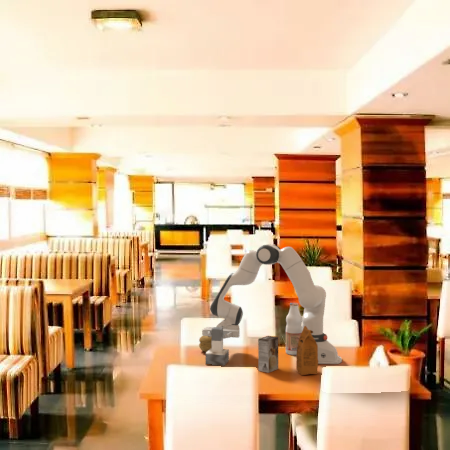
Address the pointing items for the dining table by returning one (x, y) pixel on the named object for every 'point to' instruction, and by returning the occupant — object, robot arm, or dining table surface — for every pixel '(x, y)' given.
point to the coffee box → (268, 354)
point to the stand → (217, 357)
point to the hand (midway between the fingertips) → (217, 335)
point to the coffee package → (307, 353)
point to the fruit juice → (293, 329)
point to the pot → (205, 343)
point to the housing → (217, 339)
